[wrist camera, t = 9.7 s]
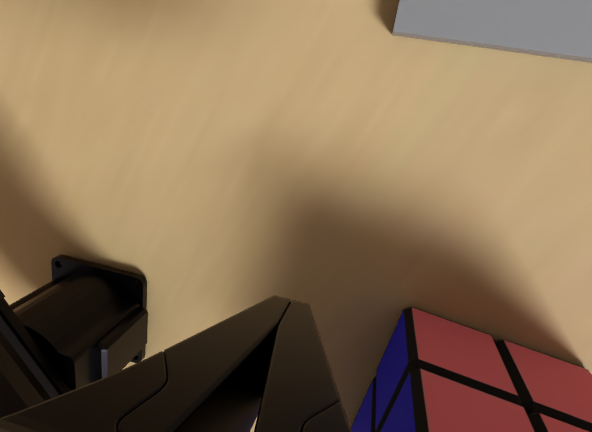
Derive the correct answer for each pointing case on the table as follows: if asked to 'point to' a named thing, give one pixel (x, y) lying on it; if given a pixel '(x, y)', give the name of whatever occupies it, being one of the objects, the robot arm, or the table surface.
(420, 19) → the crank base
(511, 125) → the table surface
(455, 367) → the puzzle cube
